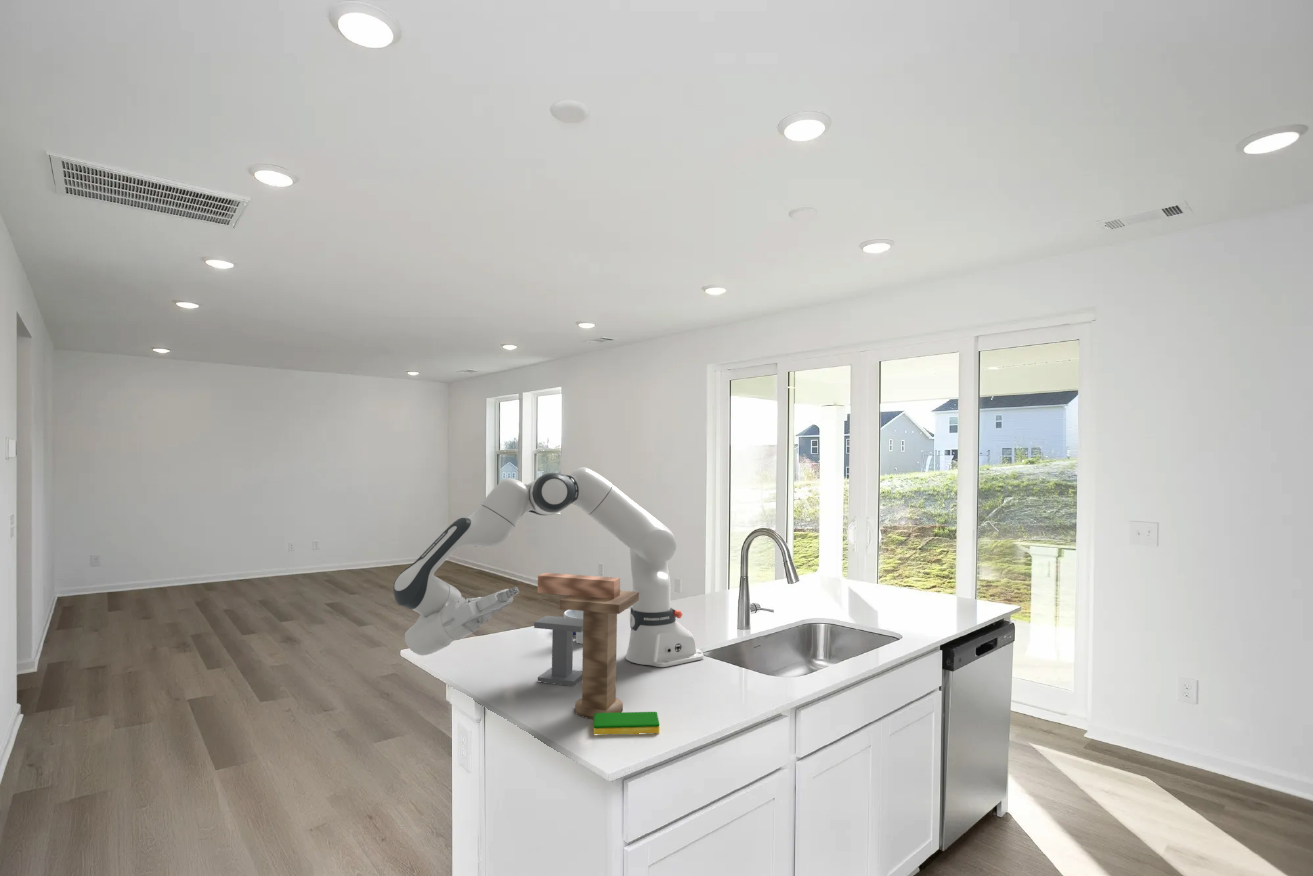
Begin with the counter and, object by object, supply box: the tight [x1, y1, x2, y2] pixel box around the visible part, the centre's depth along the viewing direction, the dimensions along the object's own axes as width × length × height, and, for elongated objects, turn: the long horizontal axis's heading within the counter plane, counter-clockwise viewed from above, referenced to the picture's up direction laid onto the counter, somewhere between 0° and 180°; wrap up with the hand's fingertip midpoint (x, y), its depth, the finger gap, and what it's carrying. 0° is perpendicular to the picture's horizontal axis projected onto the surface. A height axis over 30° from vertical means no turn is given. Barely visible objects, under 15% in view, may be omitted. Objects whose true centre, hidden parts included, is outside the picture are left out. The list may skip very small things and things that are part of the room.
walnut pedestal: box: [559, 590, 639, 720], centre depth 155 cm, size 14×14×26 cm
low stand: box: [533, 615, 583, 687], centre depth 175 cm, size 13×8×15 cm, turn 73°
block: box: [537, 572, 621, 599], centre depth 157 cm, size 19×4×4 cm, turn 73°
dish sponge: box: [593, 711, 660, 735], centre depth 145 cm, size 7×14×2 cm, turn 95°
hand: (507, 593), depth 162 cm, fingers open, 8 cm apart
